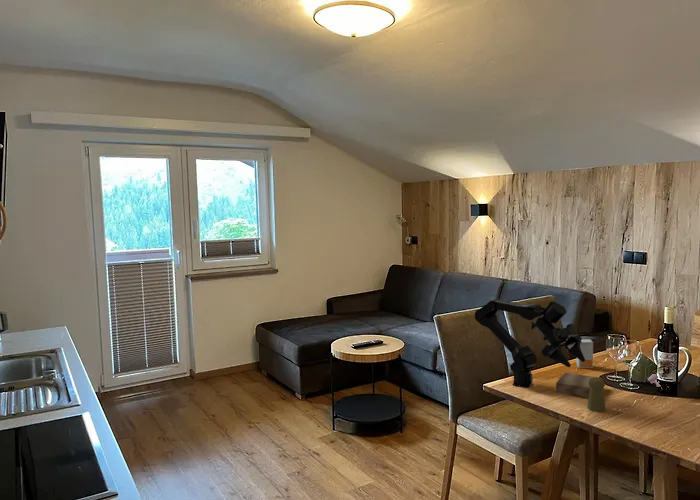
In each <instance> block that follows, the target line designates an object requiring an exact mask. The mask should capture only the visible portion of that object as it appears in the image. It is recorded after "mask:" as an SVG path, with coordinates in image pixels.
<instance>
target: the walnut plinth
mask: <svg viewBox="0 0 700 500" xmlns="http://www.w3.org/2000/svg"><path fill="white" fill-rule="evenodd" d="M591 378H600V379H602V380H603V378H602V377H598V376H592V375H591V376H590V375H586V374H585V375H584V374H578V373H570V372H564V373H563V374H562V375H561V376H560V377H559V379H558V380H557V381H556V383H555V388H556V389H555V393H556V394H560V395H568V396H572V397H573V396H574V397H580V398H584V399H589V393H590V386H589V380H590V379H591Z"/></svg>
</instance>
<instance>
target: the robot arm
mask: <svg viewBox="0 0 700 500" xmlns="http://www.w3.org/2000/svg"><path fill="white" fill-rule="evenodd" d="M499 311H501V312H507V313H511V314H516V315H518V316H520V318H523V319H525V320H527V321H532V322H531V326H530V329H531V330H535V329H537V330H538V331H539V332H540V333H541V335H542V336H543V338H542V339H543V341H547V343H546V345H545V346H544V347H543V348H542V349H541V355H542V356H543V357H544V358H548V359H550V360H553V361H555V362H558V363H559V364H561V365H564V366H565V367H567V368H570V367H572V366H571V363H570V361H569V360H568V359H567V357H566V356H565V354H564V353H563V350H562V349H563V348H565V349H567V352H568V353H570V354H571V355H573V356H574V357H575V358H576V359H577V358H578V359H579V360H581V361H582V362H584V361H585V358H584V356H583V354H582V351H581V348H580V343H581V340H583V338H582V337H581V335H579V334H577V329H578V327H576V325H575V324H573V323H569V324H567V325H566V327H563V328H561V327H557V326H556V325H555V324H558V322H559V321H560V320H561V319H562V318H563V317H565V315H566V314H567V309H566V308H565V306H563V305H562V304H560V303H557V302H556V301H555V300H552V301H550V302H549V303H548V304H547V306H546V307H545V306H544V307H543V306H542V305H541V304H539V303H517V302H513V301H507V300H503V299H500V298H495V299H490V300H489V301H488V302H487V303H486V304H484V305H483V306H482V307H480V308H479V309H476V311H475V312H474V320H475V321H476V322H477V323H478V324H480V325H481V326H483V327H484V328H487V329H488V330H490V331H491V332H492V334H493V335H495V337H496V338H497V339H498V340H499V341H500V342H501V344H502V345H503V346H505V349H507V350H508V351H509V353H511V357H512V360H513V362H512V363H511V364H510V365H509V368H510V371H512V372H513V383H512V385H511V386H516V387H521V388H522V387H523V388H527V389H528V388H529V387H531V386H532V385H533V373H532V370H533V369H534V368H535V366H536V364H537V363H538V362H537V361H538V360H537V355H536V354H535V353H536V352H535V351H533V350H532V349H531V348H530V346H528V345H526V346H523V345H521V344H520V343H519V342H518V341H517V340H516V339H515V338H514V337H513V336H512V335H511V334H510V333H509V331H508V330H507V329H506V328H505V327H504V326H503V325H502V324H501V323H500V322H499V320H498V315H497V313H499ZM533 320H535V321H533Z"/></svg>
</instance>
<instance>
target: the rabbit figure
mask: <svg viewBox="0 0 700 500" xmlns="http://www.w3.org/2000/svg"><path fill="white" fill-rule="evenodd" d="M655 373H656V374H652V375H651V376H650V377H649V378H648V377H647V382H650V384H653V383H654V384H653V385H656V388H657V387H661V385H660V384H659V382H657V378H658V376H657V372H655ZM667 387H668V388H669V386H667ZM661 389H662V390H663V388H662V387H661ZM669 389H670V388H669Z"/></svg>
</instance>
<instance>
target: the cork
mask: <svg viewBox="0 0 700 500" xmlns="http://www.w3.org/2000/svg"><path fill="white" fill-rule="evenodd" d="M600 378H601V377H599V378H591V379H590V380H589V386H590V393H589V398H588V399H587V400H588V402H587V407H586V409H587V410H588V411H591V412H594V413H603V412H606V411H607V408H606V400H605V394H604V388H605V386H606V384H605V380H604V379H603V378H602V379H600Z"/></svg>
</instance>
